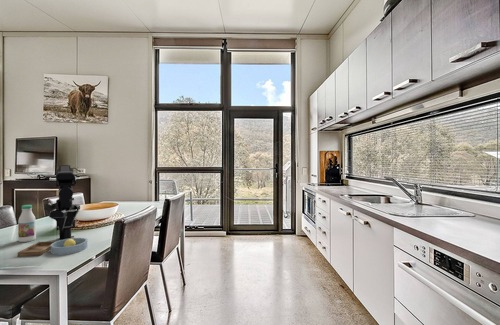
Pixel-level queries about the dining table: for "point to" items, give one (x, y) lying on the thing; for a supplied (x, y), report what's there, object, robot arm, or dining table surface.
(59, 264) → the dining table surface
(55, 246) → the bowl
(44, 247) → the tray
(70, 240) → the ball
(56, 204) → the robot arm
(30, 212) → the milk bottle
